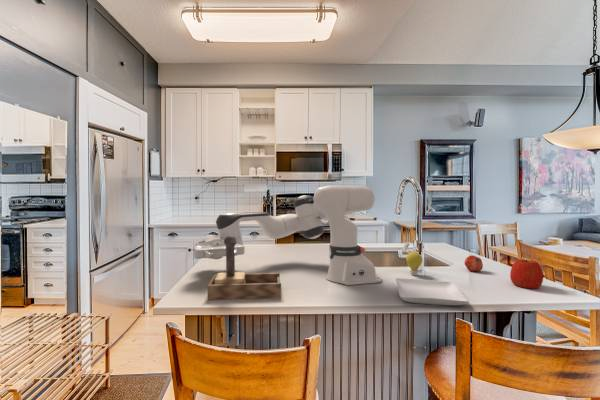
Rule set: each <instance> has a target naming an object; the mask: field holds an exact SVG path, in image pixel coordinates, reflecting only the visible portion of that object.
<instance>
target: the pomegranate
mask: <svg viewBox="0 0 600 400" xmlns="http://www.w3.org/2000/svg"><path fill="white" fill-rule="evenodd" d="M482 260H483V259H481V258H480V257H479V256H476V255H474V254H473V255H469V256H467V257H466V258H465V260H464V262H463V263H464V266H465V267H466V269H467V270H468V271H470V272H481V271H482V269H483V268H484V264H483V261H482Z"/></svg>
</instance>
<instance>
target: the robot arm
mask: <svg viewBox="0 0 600 400" xmlns="http://www.w3.org/2000/svg"><path fill="white" fill-rule="evenodd" d="M375 200H376V199H375V193H374V191H373V190H372V188H370V187H368V186H363V185H345V184H344V185H341V184H340V185H336V184H335V185H334V184H333V185H325V186H324V185H323V186H320V187H318V188H317V189H316V190H315V192H314V195H313V196H312V195H309V194H307V195H305V194H303V195H300V196H299V197H297V198H296V199H295V200H294V201H293V207H294V210H295V213H286V214H280V215H271V214H270V213H269V212H266V211H265V212H264V211H252V212H251V211H249V212H223V213H221V214H219V215H218V216H217V218H216V221H215V224H216V227H217V230H218V235H219V236H217V235H216V234H206V235H205V236H204V237H203V238H202V239H201V241H197V242H195V245H194V247H193V258H194V259H196V260H201V259H211V260H220V259H222V258H223V257H226V246H225V244H224V239H225V238H226V237H227V236H230V235H231V236H234V237H235V238H236V245H235V257H236V256H239V255H240V256H242V255H244V254H245V252H246V249H245V245H244V243H243V236H242V233H241V228H240V223H241V222H251V221H252V222H256V223H257V224H258V225H259V227H260V228H261V231H263V233H264V235H266V236H267V237H268V238H269V239H274V240H277V239H282V238H285V237H289V236H291V235H292V234H295V233H296V232H300V233H299V236H300V235H301V236H302V237H304V238H306V239H309V240H310V239H311V240H314V239H317V238H319V237H320V236H321V235H323V234H324V226H323V222H322V220H324V221H327V222H328V225H329V233H330V235H329V236H330V244H329V248H328V249H329V250H328V258H329V264H328V270H327V275H326V280H328V281H330V282H334V283H337V284H343V285H346V286H353V285H364V284H375V283H381V282H382V276H381V275H380V274H378V273H377V272H376V267H375V265H374V263H373V262H372V261H371V260H370V259H368V258H367V257H366V256H365V255H363V253H364V254H365V252H366V249H365V247H363V246H360V245H358V228H357V225H356V224H355V223H354V222H352V221H350V220H348V219H347V218H346V217H345V216H347V215H351V214H355V213H360V212H364V211H369V210H371V209H372V208H373V206H374V204H375Z"/></svg>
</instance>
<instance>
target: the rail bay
mask: <svg viewBox="0 0 600 400" xmlns="http://www.w3.org/2000/svg"><path fill="white" fill-rule="evenodd" d="M217 274H218V273H216V274H213V276H212V277H211V279H210V280H209V283H208V284H207V285H206V286H207V291H206V292H207V301H222V300H225V301H226V300H255V299H257V300H259V299H260V300H261V299H281V298H282V283H281V277H280V272H262V273H261V272H259V273H258V272H257V273H245V284H215V278H216V276H217Z"/></svg>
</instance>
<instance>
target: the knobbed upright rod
mask: <svg viewBox="0 0 600 400" xmlns="http://www.w3.org/2000/svg"><path fill="white" fill-rule="evenodd" d="M224 244H225V246H226V256H225V263H226V264H225V269H226V270H225V271H226V272H218V273H216V274H217V276H216V278H215V284H245V274H246V272H245V271H237V272H236V270H235V269H236V268H235V267H236V266H235V265H236V264H235V263H236V262H235V260H236V258H235V257H236V256H235V245H236V238H235V237H234V236H231V235H230V236H227V237H226V238H225V239H224Z"/></svg>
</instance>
